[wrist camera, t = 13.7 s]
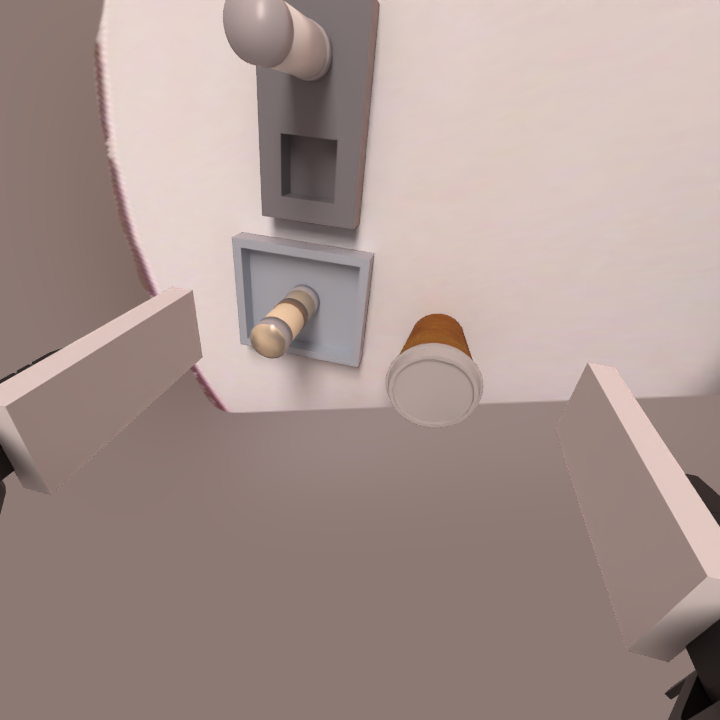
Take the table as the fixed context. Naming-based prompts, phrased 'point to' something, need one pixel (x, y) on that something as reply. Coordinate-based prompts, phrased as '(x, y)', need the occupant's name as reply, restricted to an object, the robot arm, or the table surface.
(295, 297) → the fuse
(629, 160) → the table surface
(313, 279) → the parts tray
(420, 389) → the disposable coffee cup
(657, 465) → the robot arm
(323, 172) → the grey slotted block
